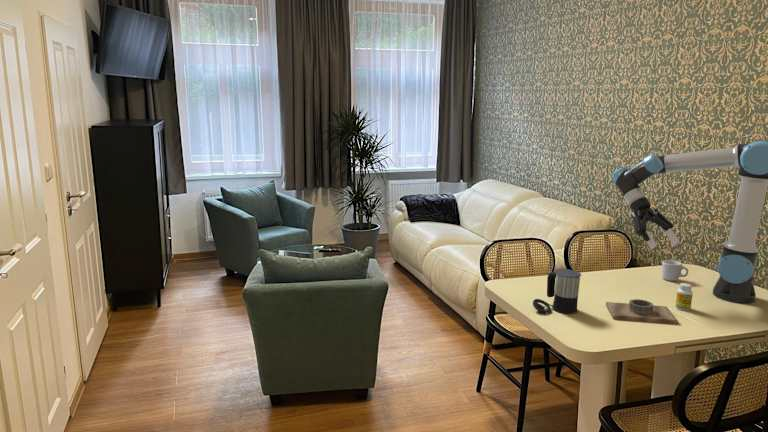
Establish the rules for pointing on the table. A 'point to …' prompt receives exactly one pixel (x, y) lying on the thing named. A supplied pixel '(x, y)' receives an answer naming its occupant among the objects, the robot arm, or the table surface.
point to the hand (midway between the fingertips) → (665, 245)
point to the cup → (672, 270)
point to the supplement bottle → (684, 297)
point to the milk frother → (561, 292)
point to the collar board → (641, 312)
